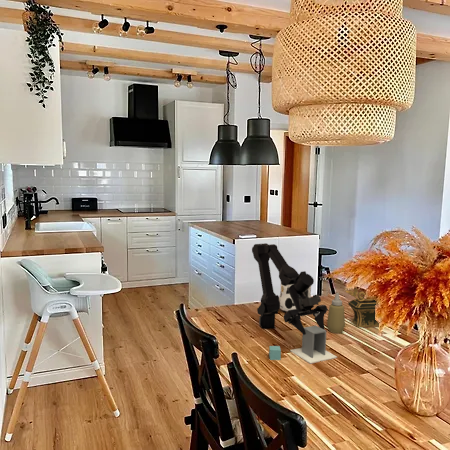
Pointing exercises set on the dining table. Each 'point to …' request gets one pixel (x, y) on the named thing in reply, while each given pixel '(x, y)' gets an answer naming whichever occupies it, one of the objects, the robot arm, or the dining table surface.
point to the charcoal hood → (314, 340)
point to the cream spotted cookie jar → (288, 298)
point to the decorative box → (363, 310)
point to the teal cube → (274, 352)
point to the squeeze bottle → (336, 316)
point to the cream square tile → (316, 356)
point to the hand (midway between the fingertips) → (314, 332)
